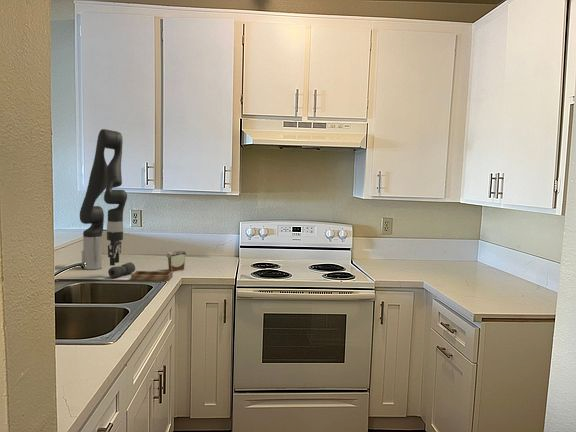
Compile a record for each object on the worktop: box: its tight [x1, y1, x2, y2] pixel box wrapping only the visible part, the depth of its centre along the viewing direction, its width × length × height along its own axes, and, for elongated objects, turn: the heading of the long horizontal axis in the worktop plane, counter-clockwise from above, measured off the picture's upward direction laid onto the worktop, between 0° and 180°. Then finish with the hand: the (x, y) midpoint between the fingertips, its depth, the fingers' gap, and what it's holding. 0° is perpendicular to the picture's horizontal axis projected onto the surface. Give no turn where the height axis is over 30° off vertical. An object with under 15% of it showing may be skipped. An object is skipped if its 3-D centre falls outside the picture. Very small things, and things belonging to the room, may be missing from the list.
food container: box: [166, 250, 187, 273], centre depth 255 cm, size 12×6×10 cm, turn 149°
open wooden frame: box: [130, 270, 174, 282], centre depth 234 cm, size 18×10×2 cm, turn 94°
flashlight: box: [108, 261, 137, 278], centre depth 237 cm, size 15×5×5 cm, turn 162°
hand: (114, 263), depth 232 cm, fingers open, 6 cm apart
